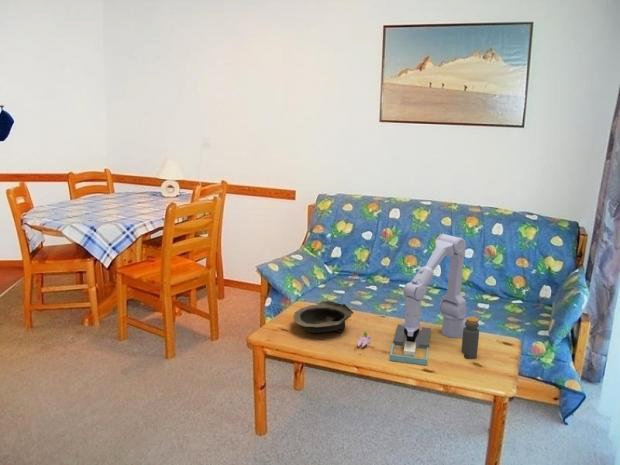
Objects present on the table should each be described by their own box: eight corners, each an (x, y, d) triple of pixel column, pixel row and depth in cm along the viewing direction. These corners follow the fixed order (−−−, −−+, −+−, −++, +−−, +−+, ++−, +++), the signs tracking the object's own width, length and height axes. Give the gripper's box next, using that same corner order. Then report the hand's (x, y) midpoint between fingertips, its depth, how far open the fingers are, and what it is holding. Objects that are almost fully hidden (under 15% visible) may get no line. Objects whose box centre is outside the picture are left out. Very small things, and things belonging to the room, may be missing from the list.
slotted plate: (430, 334, 228) (430, 328, 228) (428, 352, 211) (428, 345, 211) (397, 330, 232) (397, 324, 231) (392, 348, 215) (393, 340, 214)
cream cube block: (415, 351, 210) (416, 342, 209) (414, 356, 207) (415, 347, 205) (405, 350, 211) (405, 341, 210) (404, 355, 208) (404, 346, 206)
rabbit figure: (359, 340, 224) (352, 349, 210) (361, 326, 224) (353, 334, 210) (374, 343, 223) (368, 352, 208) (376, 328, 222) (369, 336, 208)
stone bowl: (361, 325, 236) (361, 305, 233) (332, 349, 216) (332, 328, 213) (313, 312, 249) (312, 294, 246) (281, 334, 229) (280, 314, 226)
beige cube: (415, 355, 206) (415, 346, 205) (414, 361, 203) (414, 352, 202) (404, 354, 207) (404, 345, 206) (403, 360, 204) (403, 350, 202)
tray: (428, 352, 211) (428, 346, 211) (426, 365, 200) (427, 359, 200) (392, 348, 214) (393, 342, 214) (389, 361, 203) (389, 354, 203)
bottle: (474, 360, 206) (477, 322, 203) (459, 356, 209) (462, 319, 206) (478, 354, 211) (482, 317, 207) (463, 350, 214) (466, 314, 210)
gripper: (403, 306, 216) (401, 338, 219) (400, 319, 203) (398, 353, 206) (422, 308, 215) (419, 340, 218) (419, 321, 201) (417, 355, 204)
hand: (410, 346), depth 211 cm, fingers closed
